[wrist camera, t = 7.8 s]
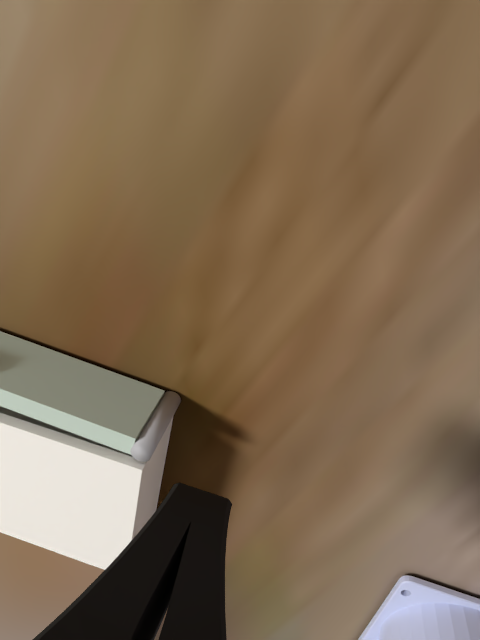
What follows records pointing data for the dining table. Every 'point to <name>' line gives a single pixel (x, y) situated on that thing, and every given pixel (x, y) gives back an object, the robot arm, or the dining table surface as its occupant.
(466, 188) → the dining table surface
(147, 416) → the door
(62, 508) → the cabinet
